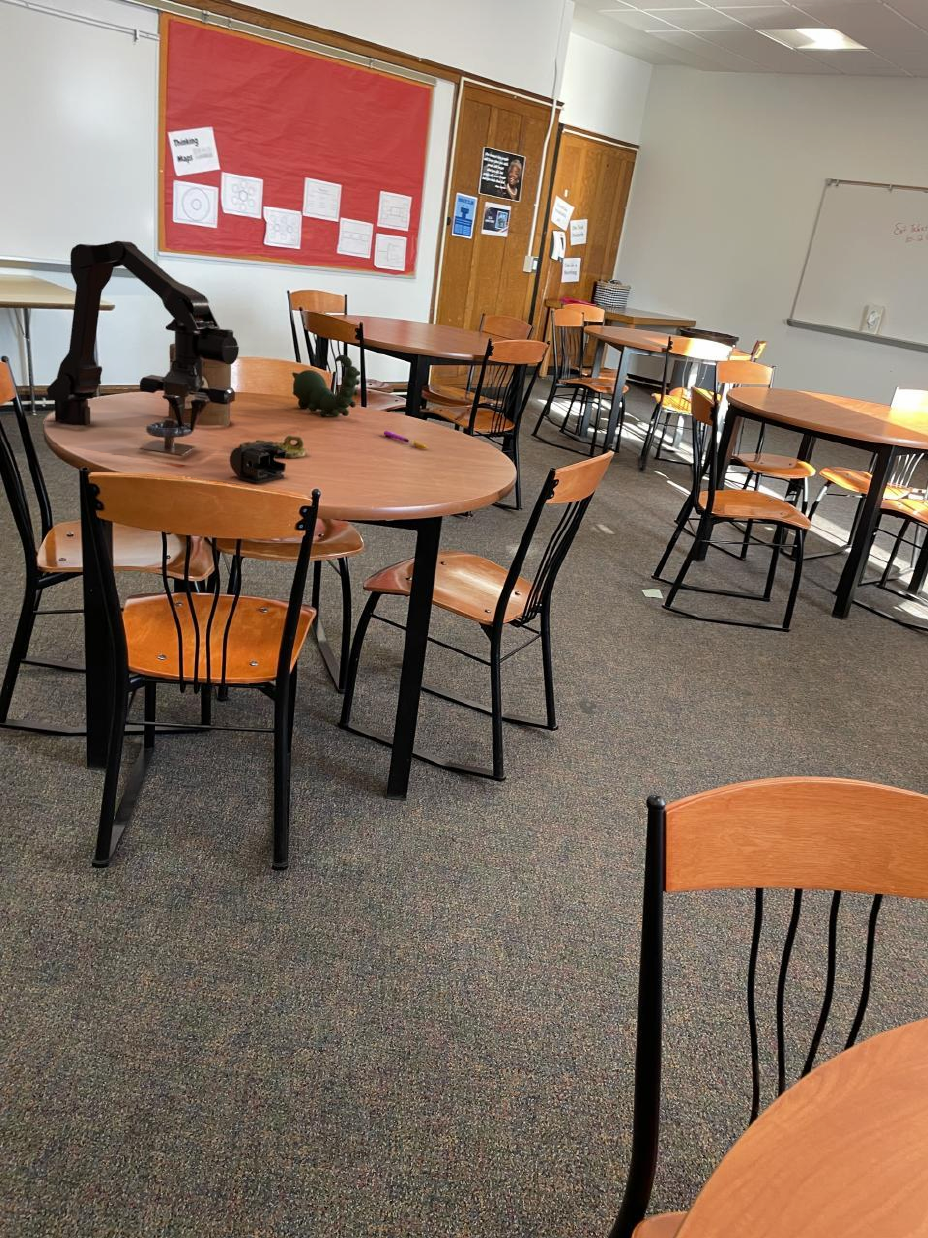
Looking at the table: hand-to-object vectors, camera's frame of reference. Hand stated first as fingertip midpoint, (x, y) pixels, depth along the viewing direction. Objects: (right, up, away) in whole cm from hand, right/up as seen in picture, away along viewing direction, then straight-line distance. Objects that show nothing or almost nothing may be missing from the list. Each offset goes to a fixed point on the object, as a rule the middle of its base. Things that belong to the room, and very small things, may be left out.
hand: (187, 429), depth 193 cm
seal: (+15, -2, +15) cm, 21 cm away
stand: (-5, -4, +2) cm, 7 cm away
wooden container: (-7, +9, +33) cm, 35 cm away
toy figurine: (+18, +18, +65) cm, 70 cm away
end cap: (+16, -11, -5) cm, 21 cm away
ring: (-4, 0, 0) cm, 4 cm away
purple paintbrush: (+44, +6, +46) cm, 64 cm away
